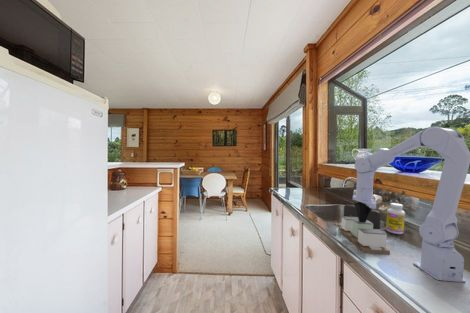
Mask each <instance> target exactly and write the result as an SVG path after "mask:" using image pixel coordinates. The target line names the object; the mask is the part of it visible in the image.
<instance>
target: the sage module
mask: <svg viewBox="0 0 470 313" xmlns="http://www.w3.org/2000/svg"><path fill="white" fill-rule="evenodd" d="M358 228H364V229H373V223H372V222H370V221H368V220H366V222H360V221H359V220H354V219H353V227H352V234H353V235H354V236H355V237H356V238H358V230H359V229H358Z"/></svg>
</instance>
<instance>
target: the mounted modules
mask: <svg viewBox="0 0 470 313" xmlns="http://www.w3.org/2000/svg"><path fill="white" fill-rule="evenodd" d="M353 219H354V220H359V219H358V217H346V216H344V215H343V216H341V228H343V229H344V230H345V231H352V227H353ZM358 229H359V230H358V242H359V243H361V244H362V245H363V246H376V247H385V248H387V237H388V236H387V235H388V233H387V232H385V231H384V230H382V229H381V228H380V229H364V228H358Z"/></svg>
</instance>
